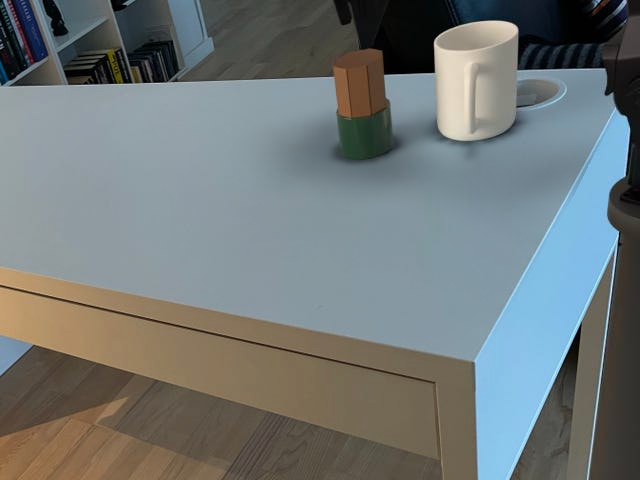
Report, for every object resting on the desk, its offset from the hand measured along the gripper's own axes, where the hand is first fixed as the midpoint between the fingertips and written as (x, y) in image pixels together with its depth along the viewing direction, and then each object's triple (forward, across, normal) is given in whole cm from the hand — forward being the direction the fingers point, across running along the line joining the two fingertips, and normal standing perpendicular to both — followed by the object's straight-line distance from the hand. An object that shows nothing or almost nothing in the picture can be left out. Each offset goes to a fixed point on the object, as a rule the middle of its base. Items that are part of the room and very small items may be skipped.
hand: (355, 35), depth 82 cm
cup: (+13, +3, +11) cm, 18 cm away
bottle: (+13, 0, 0) cm, 13 cm away
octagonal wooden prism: (+8, 0, 0) cm, 8 cm away
